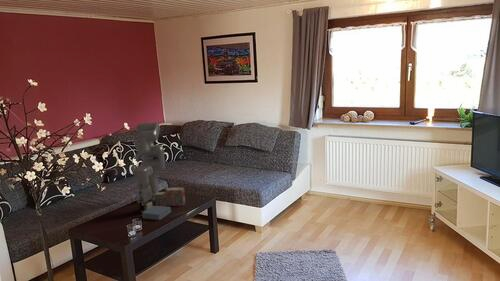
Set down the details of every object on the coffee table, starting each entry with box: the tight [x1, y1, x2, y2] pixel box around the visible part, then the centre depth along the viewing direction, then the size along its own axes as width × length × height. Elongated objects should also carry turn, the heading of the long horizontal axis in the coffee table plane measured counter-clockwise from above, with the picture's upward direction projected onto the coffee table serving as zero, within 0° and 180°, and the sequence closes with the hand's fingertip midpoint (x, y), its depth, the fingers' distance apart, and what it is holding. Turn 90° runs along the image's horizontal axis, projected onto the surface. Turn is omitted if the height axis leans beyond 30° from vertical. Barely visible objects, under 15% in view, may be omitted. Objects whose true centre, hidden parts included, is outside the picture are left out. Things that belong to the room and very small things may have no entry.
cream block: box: [140, 201, 154, 213], centre depth 273 cm, size 6×6×6 cm
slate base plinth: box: [141, 205, 172, 221], centre depth 263 cm, size 14×14×4 cm
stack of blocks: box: [154, 187, 186, 207], centre depth 282 cm, size 21×6×12 cm, turn 85°
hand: (146, 208), depth 273 cm, fingers open, 9 cm apart
